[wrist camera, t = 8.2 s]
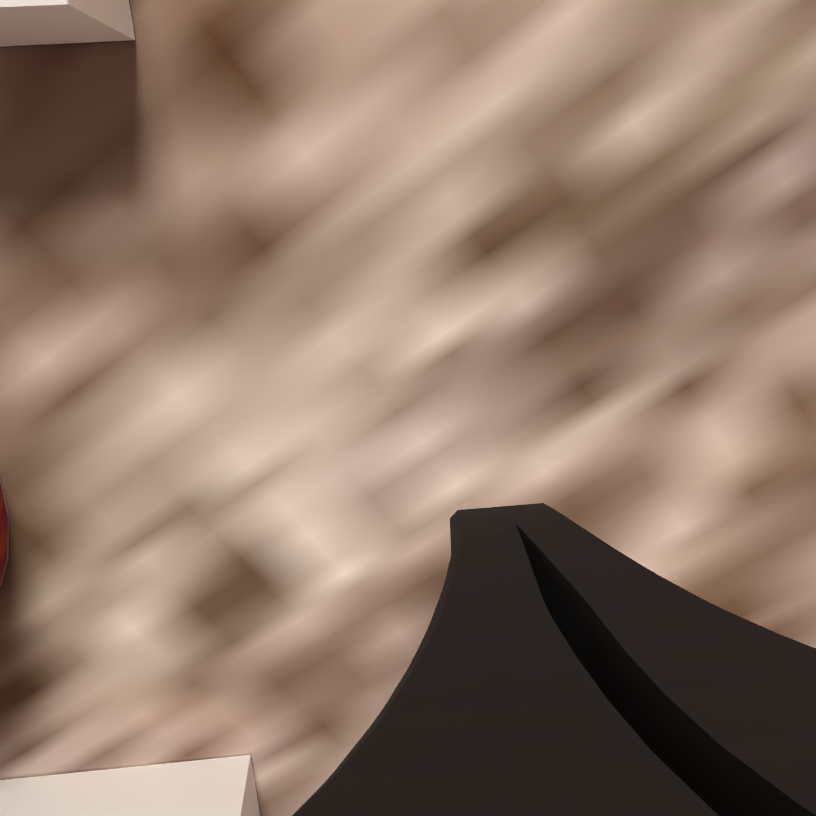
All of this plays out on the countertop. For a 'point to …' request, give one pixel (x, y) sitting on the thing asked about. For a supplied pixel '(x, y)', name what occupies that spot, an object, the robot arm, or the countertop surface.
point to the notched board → (142, 785)
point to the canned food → (3, 533)
